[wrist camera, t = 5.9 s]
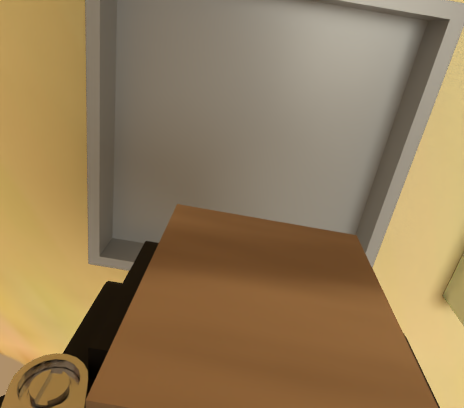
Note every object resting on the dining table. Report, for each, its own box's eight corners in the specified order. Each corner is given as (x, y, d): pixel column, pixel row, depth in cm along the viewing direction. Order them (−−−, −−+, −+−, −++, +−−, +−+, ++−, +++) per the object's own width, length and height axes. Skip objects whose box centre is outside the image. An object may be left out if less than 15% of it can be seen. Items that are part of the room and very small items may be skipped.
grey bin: (109, -49, 22) (84, -62, 19) (441, 8, 22) (471, 4, 19) (106, 239, 31) (88, 263, 27) (346, 279, 31) (356, 308, 28)
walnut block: (177, 204, 10) (85, 400, 5) (356, 234, 10) (465, 464, 5) (162, 338, 12) (87, 580, 7) (311, 363, 12) (351, 623, 7)
